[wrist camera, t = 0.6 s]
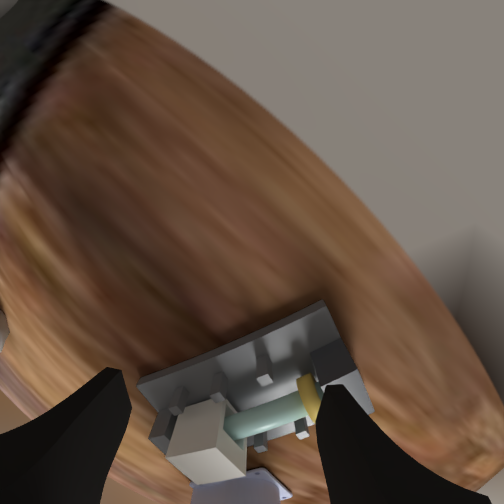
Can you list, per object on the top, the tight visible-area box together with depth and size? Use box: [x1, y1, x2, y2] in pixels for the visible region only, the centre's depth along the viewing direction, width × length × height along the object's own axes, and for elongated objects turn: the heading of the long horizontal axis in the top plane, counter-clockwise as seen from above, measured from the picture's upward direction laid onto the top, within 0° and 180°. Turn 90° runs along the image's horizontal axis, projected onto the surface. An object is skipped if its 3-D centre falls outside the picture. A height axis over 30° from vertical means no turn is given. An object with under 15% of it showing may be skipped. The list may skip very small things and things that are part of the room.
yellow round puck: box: [296, 373, 321, 423], centre depth 18 cm, size 1×4×4 cm, turn 27°
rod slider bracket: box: [136, 299, 375, 455], centre depth 19 cm, size 16×10×5 cm, turn 118°
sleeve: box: [165, 399, 247, 485], centre depth 18 cm, size 4×4×5 cm
